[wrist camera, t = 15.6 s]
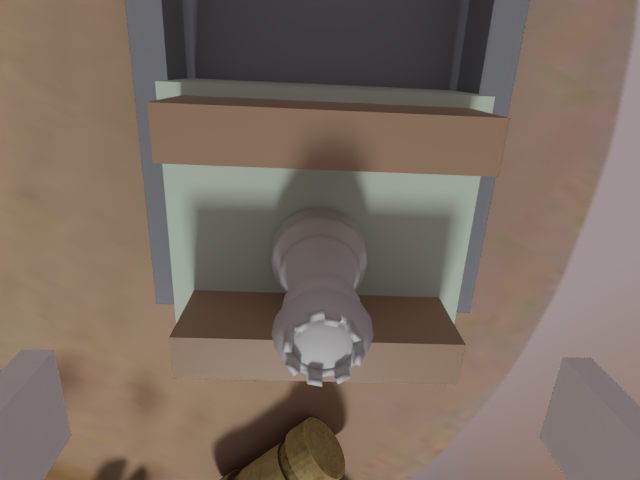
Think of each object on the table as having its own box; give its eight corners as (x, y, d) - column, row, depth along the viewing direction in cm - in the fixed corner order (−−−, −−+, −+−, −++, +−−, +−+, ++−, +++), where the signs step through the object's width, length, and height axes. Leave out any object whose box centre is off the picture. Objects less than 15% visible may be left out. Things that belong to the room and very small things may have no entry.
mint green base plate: (203, 280, 28) (149, 387, 18) (192, 78, 23) (113, 84, 14) (423, 286, 28) (478, 394, 19) (452, 90, 24) (542, 103, 15)
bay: (176, 273, 29) (156, 303, 25) (132, -265, 19) (88, -345, 15) (449, 281, 29) (469, 312, 25) (536, -235, 20) (588, -305, 16)
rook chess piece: (255, 224, 20) (223, 316, 13) (347, 190, 20) (370, 264, 12) (292, 304, 22) (283, 427, 14) (378, 274, 21) (415, 386, 14)
